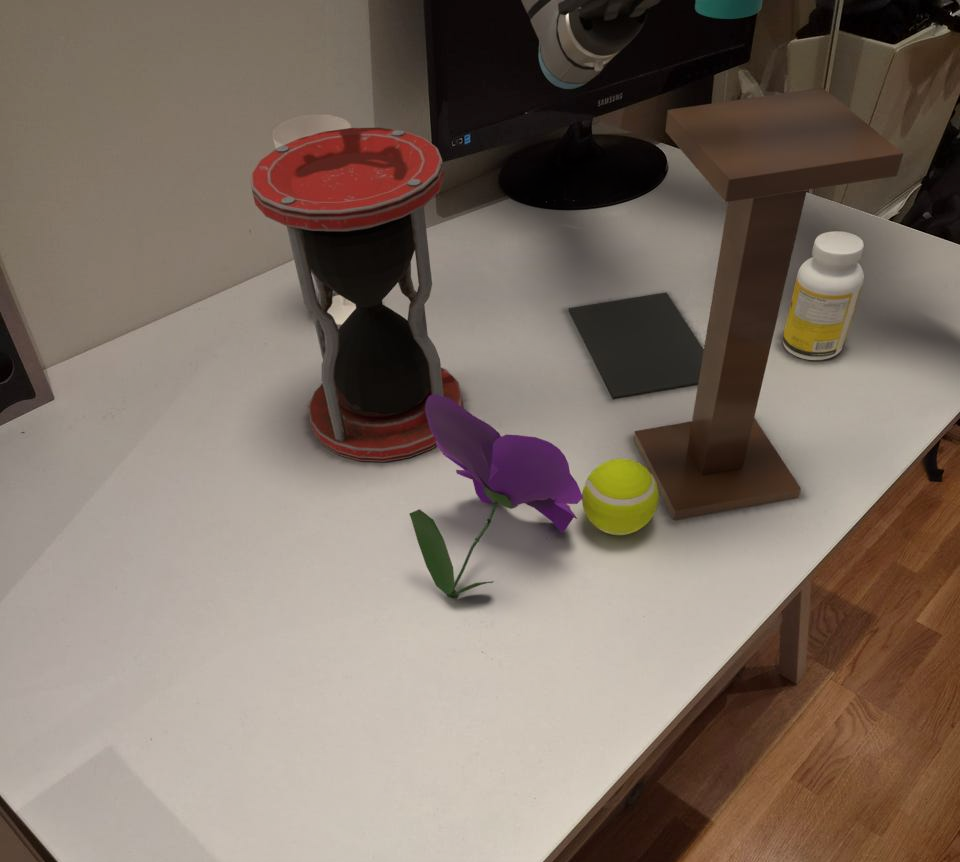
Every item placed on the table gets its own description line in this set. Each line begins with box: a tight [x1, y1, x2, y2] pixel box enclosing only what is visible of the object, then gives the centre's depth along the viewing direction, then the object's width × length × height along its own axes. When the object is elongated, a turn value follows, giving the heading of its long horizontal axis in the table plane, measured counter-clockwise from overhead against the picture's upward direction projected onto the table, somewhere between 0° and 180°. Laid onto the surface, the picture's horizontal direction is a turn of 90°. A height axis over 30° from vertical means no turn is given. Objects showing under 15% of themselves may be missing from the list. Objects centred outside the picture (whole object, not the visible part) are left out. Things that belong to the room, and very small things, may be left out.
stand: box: [633, 87, 904, 521], centre depth 72 cm, size 12×12×30 cm
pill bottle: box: [782, 230, 865, 361], centre depth 90 cm, size 6×6×12 cm
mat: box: [568, 292, 704, 400], centre depth 97 cm, size 18×12×1 cm, turn 11°
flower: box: [409, 394, 583, 599], centre depth 73 cm, size 15×15×14 cm
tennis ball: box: [581, 458, 660, 536], centre depth 76 cm, size 7×7×7 cm
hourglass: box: [250, 127, 464, 463], centre depth 82 cm, size 16×16×25 cm
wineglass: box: [272, 114, 356, 325], centre depth 97 cm, size 8×9×20 cm
